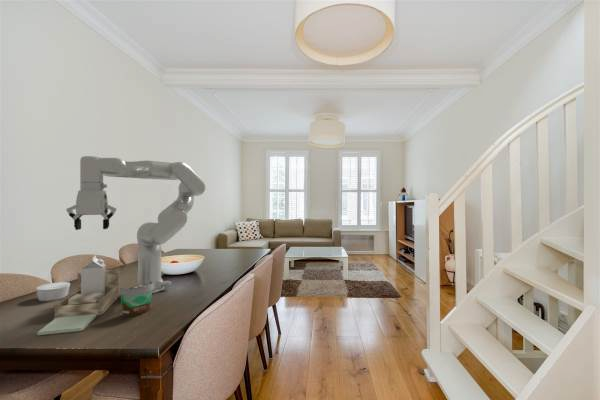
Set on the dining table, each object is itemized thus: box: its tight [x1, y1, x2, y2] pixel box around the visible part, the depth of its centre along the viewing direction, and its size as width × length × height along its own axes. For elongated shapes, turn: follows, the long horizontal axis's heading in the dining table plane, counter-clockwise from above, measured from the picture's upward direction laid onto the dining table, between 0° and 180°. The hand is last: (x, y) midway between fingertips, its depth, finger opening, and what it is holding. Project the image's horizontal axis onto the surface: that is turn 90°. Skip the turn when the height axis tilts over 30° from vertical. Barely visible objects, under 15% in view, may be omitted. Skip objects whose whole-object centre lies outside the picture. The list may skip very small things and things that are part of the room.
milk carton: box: [80, 255, 107, 297], centre depth 115 cm, size 7×7×19 cm
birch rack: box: [53, 269, 120, 320], centre depth 111 cm, size 14×19×12 cm
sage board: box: [37, 314, 97, 336], centre depth 95 cm, size 12×12×1 cm
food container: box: [118, 281, 154, 317], centre depth 107 cm, size 12×6×10 cm, turn 148°
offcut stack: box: [66, 293, 103, 306], centre depth 107 cm, size 10×7×6 cm, turn 107°
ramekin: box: [35, 281, 71, 302], centre depth 122 cm, size 11×11×5 cm
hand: (92, 229), depth 116 cm, fingers open, 9 cm apart
